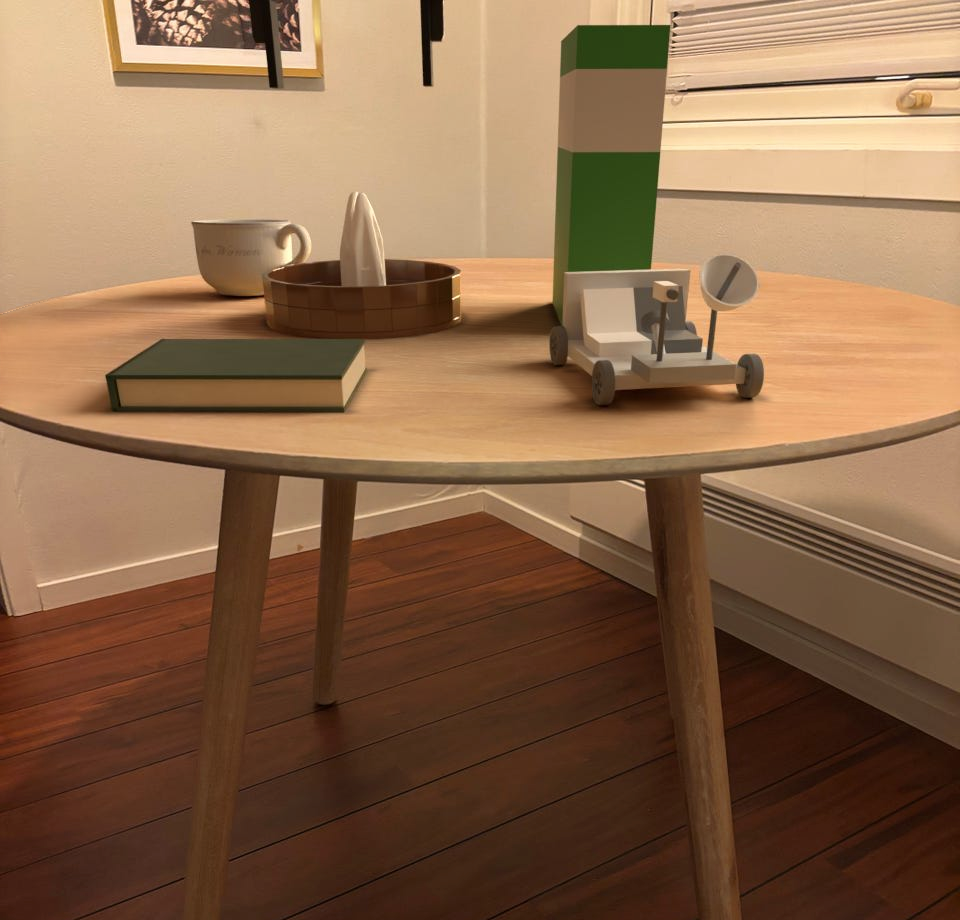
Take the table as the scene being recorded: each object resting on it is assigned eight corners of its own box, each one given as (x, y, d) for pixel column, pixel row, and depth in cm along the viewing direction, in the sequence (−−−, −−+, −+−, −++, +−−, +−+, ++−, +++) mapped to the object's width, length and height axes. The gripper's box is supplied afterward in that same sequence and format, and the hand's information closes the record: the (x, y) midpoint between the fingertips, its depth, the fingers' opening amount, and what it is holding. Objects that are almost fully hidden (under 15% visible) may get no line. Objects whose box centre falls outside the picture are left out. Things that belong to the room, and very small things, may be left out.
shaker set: (390, 324, 89) (384, 194, 84) (345, 325, 88) (336, 195, 83) (381, 302, 99) (375, 186, 94) (341, 303, 99) (333, 186, 93)
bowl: (246, 339, 86) (240, 287, 84) (288, 303, 103) (284, 259, 101) (456, 339, 86) (456, 287, 83) (464, 303, 102) (464, 258, 100)
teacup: (181, 296, 107) (170, 219, 103) (252, 284, 115) (244, 212, 111) (268, 308, 100) (259, 226, 96) (337, 294, 108) (332, 218, 104)
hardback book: (552, 302, 102) (561, 41, 91) (620, 302, 102) (638, 40, 91) (565, 335, 87) (577, 25, 75) (645, 335, 87) (670, 24, 75)
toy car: (801, 257, 59) (624, 261, 57) (778, 412, 64) (613, 421, 62) (694, 228, 75) (552, 231, 73) (682, 355, 80) (548, 360, 78)
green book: (111, 411, 65) (104, 374, 64) (166, 371, 75) (161, 338, 74) (344, 412, 64) (341, 375, 63) (366, 371, 75) (364, 338, 74)
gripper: (159, -238, 71) (202, 87, 81) (490, -246, 71) (491, 84, 81) (188, -208, 78) (225, 90, 88) (491, -214, 77) (492, 86, 87)
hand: (352, 87), depth 84 cm, fingers open, 13 cm apart
